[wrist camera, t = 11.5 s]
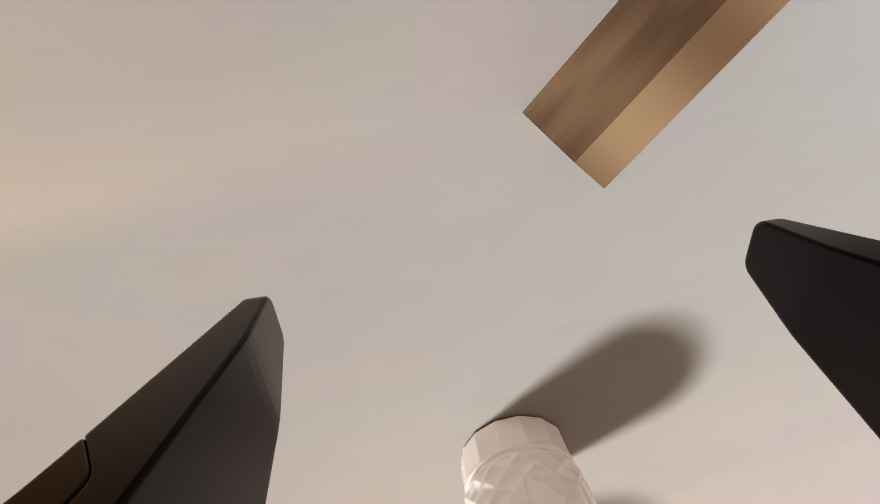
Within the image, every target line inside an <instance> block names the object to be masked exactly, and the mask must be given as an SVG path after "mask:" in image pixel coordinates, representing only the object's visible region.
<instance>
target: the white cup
mask: <svg viewBox="0 0 880 504" xmlns="http://www.w3.org/2000/svg"><path fill="white" fill-rule="evenodd" d="M461 470H462V477H463V483H464V490H465V504H597V503H596V501H595V498H594V496H593V494H592V491H591V489H590V487H589V486H588V484H587V482H586V480H585V479H584V477H583V474H582V472H581V470H580V468H579V467H578V466H577V465H576V464H575V462H574V460H573V458H572V457H571V455H570V453H569V451H568V449H567V447H566V445H565V442H564V440H563V438H562V436H561V434H560V432H559V430H558V428H557V427H556V426H554V425H553V424H551V423H549V422H547V421H546V420H544V419H542V418H539V417H528V416H515V417H510V418H506V419H502V420H498V421H494V422H492V423H491V424H489V425H487V426H486V427H484V428H482V429H481V430H479V431H477V432H476V433H475V434H474V435H473V436H472V437H471V439H470V440H469V441H468V443H467V444H466V445H465V447H464V448H463V450H462V460H461Z"/></svg>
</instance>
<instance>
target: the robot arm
mask: <svg viewBox="0 0 880 504" xmlns="http://www.w3.org/2000/svg"><path fill="white" fill-rule="evenodd" d="M745 264H746V269H747V271H748V273H749V275H750V276H751V278H752V279H753V280H754V282H755V283H756V285H757V286H758V288H759V289H760V291H761V292H762V293H763V295H764V296H765V298H766V299H767V301H768V302H769V304H770V305H771V306H772V308H773V309H774V311H775V312H776V314H777V315H778V317H779V318H780V319H781V321H782V322H783V324H784V325H785V327H786V328H787V329H788V331H789V332H790V333H791V335H792V336H793V337H794V339H795V340H796V341H797V342H798V343H799V345H800V346H801V347H802V348H803V349H804V351H805V352H806V353H807V354H808V355H809V356H810V358H811V359H812V360H813V361H814V362H815V363H816V365H817V366H818V367H819V368H820V369H821V371H822V372H823V373H824V374H825V375H826V376H827V378H828V379H829V380H830V381H831V382H832V383H833V385H834V386H835V387H836V388H837V389H838V390H839V392H840V393H841V394H842V395H843V396H844V398H845V399H846V400H847V401H848V402H849V403H850V405H851V406H852V407H853V408H854V409H855V410H856V412H857V413H858V414H859V415H860V416H861V417H862V419H863V420H864V421H865V422H866V423H867V424H868V426H869V427H870V428H871V429H872V430H873V432H874V433H875V434H876V435H877V436H878V437H879V439H880V241H879V240H874V239H870V238H866V237H861V236H857V235H852V234H848V233H843V232H839V231H835V230H830V229H826V228H821V227H817V226H812V225H808V224H804V223H799V222H795V221H790V220H786V219H774V220H767V221H762V222H759V223H758V224H757V225H756V226H755V227H754V229H753V232H752V236H751V240H750V244H749V248H748V251H747V255H746V260H745ZM283 350H284V341H283V334H282V331H281V328H280V324H279V321H278V318H277V315H276V312H275V309H274V306H273V303H272V301H271V300H270V298H268V297H266V296H264V297H257V298H250V299H246V300H244V301H242V302H241V303H240V304H239V305H237V306H236V307H235V308H234V309H233V310H232V311H230V312H229V313H228V314H227V315H226V316H225V317H223V318H222V319H221V320H220V321H219V322H218V323H216V324H215V325H214V326H213V327H212V328H211V329H209V330H208V331H207V332H206V333H205V334H204V335H202V336H201V337H200V338H199V339H198V340H197V341H195V342H194V343H193V344H192V345H191V346H190V347H188V348H187V349H186V350H185V351H184V352H183V353H181V354H180V355H179V356H178V357H177V358H176V359H174V360H173V361H172V362H171V363H170V364H169V365H167V366H166V367H165V368H164V369H163V370H161V371H160V372H159V373H158V374H157V375H156V376H154V377H153V378H152V379H151V380H150V381H149V382H147V383H146V384H145V385H144V386H143V387H142V388H140V389H139V390H138V391H137V392H136V393H135V394H133V395H132V396H131V397H130V398H129V399H128V400H126V401H125V402H124V403H123V404H122V405H121V406H119V407H118V408H117V409H116V410H115V411H113V412H112V413H111V414H110V415H109V416H108V417H106V418H105V419H104V420H103V421H102V422H101V423H99V424H98V425H97V426H96V427H95V428H94V429H92V430H91V431H90V432H89V433H88V434H87V435H86V436H85V440H84V439H82V440H79V441H78V442H77V443H76V444H75V445H74V446H72V447H71V448H70V449H69V450H68V451H67V452H65V453H64V454H63V455H62V456H61V457H60V458H58V459H57V460H56V461H55V462H54V463H52V464H51V465H50V466H49V467H48V468H46V469H45V470H44V471H43V472H42V473H40V474H39V475H38V476H37V477H36V478H34V479H33V480H32V481H31V482H29V483H28V484H27V485H26V486H25V487H23V488H22V489H21V490H20V491H19V492H17V493H16V494H15V495H13V496H12V497H11V498H10V499H8V500H7V501H6V502H4V503H3V504H265V503H266V498H267V492H268V486H269V481H270V475H271V469H272V464H273V458H274V453H275V447H276V441H277V436H278V429H279V422H280V410H281V391H282V370H283Z"/></svg>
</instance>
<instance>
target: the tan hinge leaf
mask: <svg viewBox="0 0 880 504" xmlns="http://www.w3.org/2000/svg"><path fill="white" fill-rule="evenodd" d="M789 1H790V0H620V1H619V2H618V3H617V4H616V5H615V6H614V7H613V9H612V10H611V11H610V12H609V13H608V14H607V16H606V17H605V18H604V19H603V20H602V21H601V23H600V24H599V25H598V26H597V27H596V28H595V30H594V31H593V32H592V33H591V34H590V35H589V37H588V38H587V39H586V40H585V41H584V42H583V43H582V45H581V46H580V47H579V48H578V49H577V50H576V52H575V53H574V54H573V55H572V56H571V57H570V59H569V60H568V61H567V62H566V63H565V64H564V66H563V67H562V68H561V69H560V70H559V71H558V73H557V74H556V75H555V76H554V77H553V78H552V79H551V81H550V82H549V83H548V84H547V85H546V86H545V88H544V89H543V90H542V91H541V92H540V93H539V95H538V96H537V97H536V98H535V99H534V100H533V102H532V103H531V104H530V105H529V106H528V107H527V109H526V110H525V111H524V112H523V114H524V115H525V116H526V117H527V118H529V119H530V120H531V121H532V122H533V123H534V124H535V125H536V126H537V127H538V128H539V129H540V130H541V131H542V132H543V133H544V134H545V135H546V136H547V137H548V138H550V139H551V140H552V141H553V142H554V143H555V144H556V145H557V146H558V147H559V148H560V149H561V150H562V151H563V152H564V153H565V154H566V155H567V156H568V157H569V158H570V159H572V160H573V161H574V162H575V163H576V164H577V165H578V166H579V167H580V168H582V169H583V170H584V171H585V172H586V173H587V174H588V175H589V176H591V177H592V178H593V179H594V180H595V181H596V182H597V183H599V184H600V185H601V186H602V187H603V188H605V187H606V186H607V185H608V184H609V183H610V182H611V181H612V180H613V179H614V178H615V177H616V176H617V175H618V174H619V173H620V172H621V171H622V170H623V169H624V168H625V167H626V166H627V165H628V164H629V163H630V162H631V161H632V160H633V159H634V158H635V157H636V156H637V155H638V154H639V153H640V152H641V151H642V150H643V149H644V148H645V147H646V146H647V145H648V144H649V143H650V142H651V141H652V140H653V139H654V138H655V137H656V136H657V135H658V134H659V133H660V132H661V131H662V130H663V129H664V128H665V127H666V126H667V125H668V123H669V122H670V121H671V120H672V119H673V118H674V117H675V116H676V115H677V114H678V113H679V112H680V111H681V110H682V109H683V108H684V107H685V106H686V105H687V104H688V103H689V102H690V101H691V100H692V99H693V98H694V97H695V96H696V95H697V94H698V93H699V92H700V91H701V90H702V89H703V88H704V87H705V86H706V85H707V84H708V83H709V82H710V81H711V80H712V79H713V78H714V77H715V76H716V75H717V74H718V73H719V72H720V71H721V70H722V69H723V68H724V67H725V66H726V65H727V64H728V63H729V62H730V61H731V60H732V59H733V58H734V57H735V56H736V54H737V53H738V52H739V51H740V50H741V49H742V48H743V47H744V46H745V45H746V44H747V43H748V42H749V41H750V40H751V39H752V38H753V37H754V36H755V35H756V34H757V33H758V32H759V31H760V30H761V29H762V28H763V27H764V26H765V25H766V24H767V23H768V22H769V21H770V20H771V19H772V18H773V17H774V16H775V15H776V14H777V13H778V12H779V11H780V10H781V9H782V8H783V7H784V6H785V5H786V4H787V3H788V2H789Z"/></svg>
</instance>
